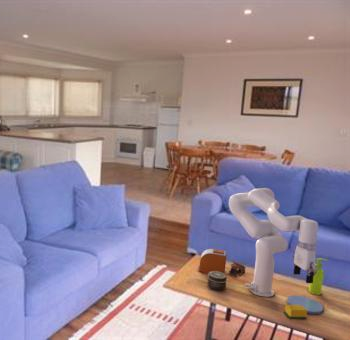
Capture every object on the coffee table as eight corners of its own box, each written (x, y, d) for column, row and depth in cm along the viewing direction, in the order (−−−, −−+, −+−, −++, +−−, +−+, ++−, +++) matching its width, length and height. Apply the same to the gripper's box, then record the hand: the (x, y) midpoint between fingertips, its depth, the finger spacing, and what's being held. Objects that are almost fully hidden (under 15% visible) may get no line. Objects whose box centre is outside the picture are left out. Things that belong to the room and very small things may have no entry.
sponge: (290, 318, 179) (291, 310, 179) (284, 312, 184) (285, 304, 184) (306, 318, 180) (307, 310, 179) (300, 313, 185) (301, 304, 184)
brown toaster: (224, 270, 231) (226, 249, 228) (224, 276, 223) (226, 254, 220) (200, 266, 236) (202, 245, 233) (198, 271, 228) (200, 250, 226)
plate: (298, 313, 184) (298, 311, 184) (281, 297, 200) (281, 295, 200) (329, 314, 185) (330, 311, 185) (310, 297, 201) (310, 295, 201)
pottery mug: (224, 272, 229) (229, 260, 230) (236, 278, 230) (241, 266, 232) (235, 276, 217) (240, 263, 218) (248, 282, 219) (253, 269, 220)
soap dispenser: (324, 295, 204) (329, 261, 200) (310, 294, 205) (315, 260, 201) (320, 290, 209) (325, 257, 206) (307, 289, 211) (311, 255, 207)
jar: (208, 281, 215) (209, 269, 214) (226, 285, 211) (228, 273, 209) (205, 288, 206) (207, 276, 205) (224, 293, 202) (226, 280, 200)
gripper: (288, 239, 188) (285, 271, 191) (310, 251, 171) (306, 286, 174) (302, 239, 189) (299, 271, 191) (326, 251, 172) (322, 286, 174)
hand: (302, 278), depth 182 cm, fingers open, 9 cm apart
